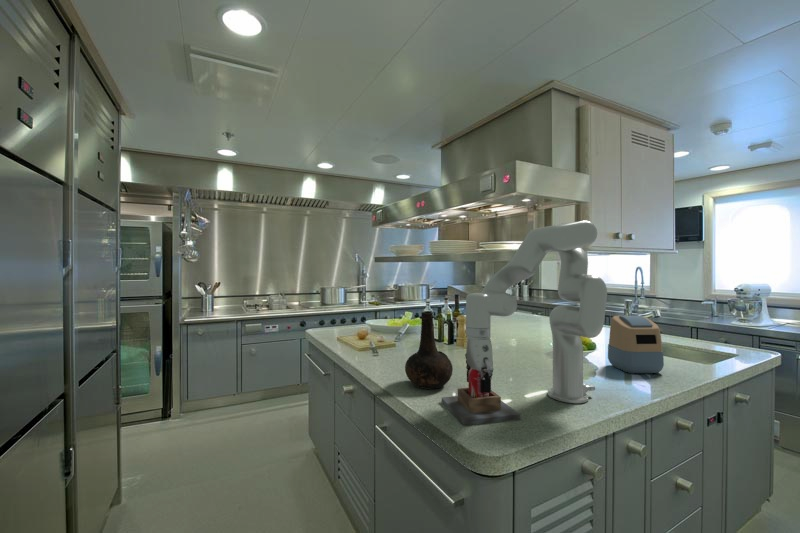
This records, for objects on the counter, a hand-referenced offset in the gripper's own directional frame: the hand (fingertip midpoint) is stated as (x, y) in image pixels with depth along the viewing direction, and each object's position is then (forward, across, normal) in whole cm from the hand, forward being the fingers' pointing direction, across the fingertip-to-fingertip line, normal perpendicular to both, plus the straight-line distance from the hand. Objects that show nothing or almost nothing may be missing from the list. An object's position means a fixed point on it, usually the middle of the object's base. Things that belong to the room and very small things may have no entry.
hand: (478, 386), depth 110 cm
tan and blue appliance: (+8, +24, -86) cm, 90 cm away
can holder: (+7, 0, 0) cm, 7 cm away
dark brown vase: (+8, +26, +8) cm, 28 cm away
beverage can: (+6, 0, 0) cm, 6 cm away
